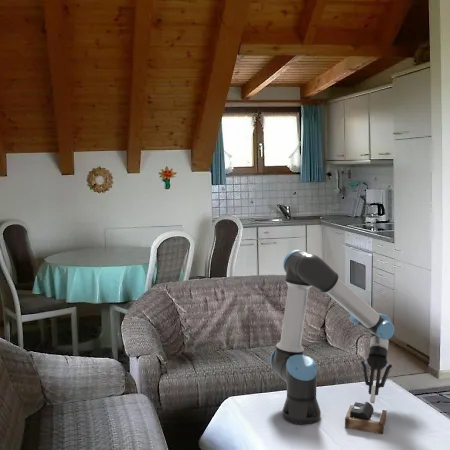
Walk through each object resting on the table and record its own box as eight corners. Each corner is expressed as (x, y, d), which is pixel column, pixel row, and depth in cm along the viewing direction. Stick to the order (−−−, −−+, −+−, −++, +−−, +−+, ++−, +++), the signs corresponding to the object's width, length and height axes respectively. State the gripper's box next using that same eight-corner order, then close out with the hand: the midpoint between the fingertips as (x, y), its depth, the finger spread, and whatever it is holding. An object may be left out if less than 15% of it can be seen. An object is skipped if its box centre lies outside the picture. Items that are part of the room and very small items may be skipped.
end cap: (368, 430, 217) (368, 413, 217) (349, 426, 221) (349, 410, 220) (373, 419, 226) (373, 402, 226) (355, 415, 229) (355, 399, 229)
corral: (344, 428, 219) (345, 418, 219) (350, 414, 230) (350, 405, 230) (382, 434, 214) (382, 424, 214) (386, 420, 225) (386, 410, 225)
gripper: (395, 354, 247) (389, 407, 234) (364, 351, 252) (357, 403, 239) (393, 346, 241) (387, 401, 228) (362, 343, 246) (354, 396, 233)
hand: (372, 402), depth 234 cm, fingers closed
